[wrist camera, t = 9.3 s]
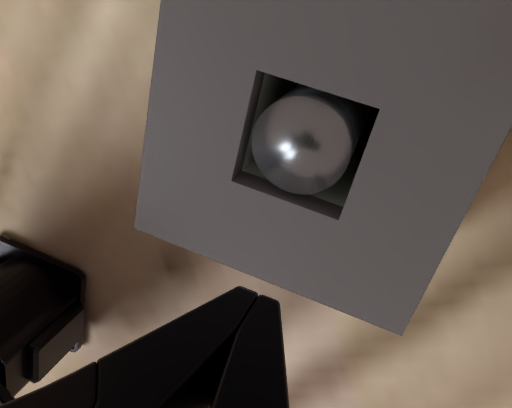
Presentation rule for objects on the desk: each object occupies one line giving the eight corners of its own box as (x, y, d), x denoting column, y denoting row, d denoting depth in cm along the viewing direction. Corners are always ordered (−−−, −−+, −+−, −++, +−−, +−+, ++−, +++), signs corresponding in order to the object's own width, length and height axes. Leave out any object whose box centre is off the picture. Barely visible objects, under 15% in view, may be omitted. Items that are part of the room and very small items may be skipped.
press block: (201, 171, 22) (133, 228, 17) (306, -375, 14) (232, -598, 8) (407, 247, 20) (401, 335, 15) (678, -326, 12) (876, -570, 7)
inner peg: (286, 129, 19) (242, 175, 15) (306, 57, 18) (264, 82, 13) (355, 152, 19) (332, 207, 14) (382, 80, 18) (365, 115, 13)
